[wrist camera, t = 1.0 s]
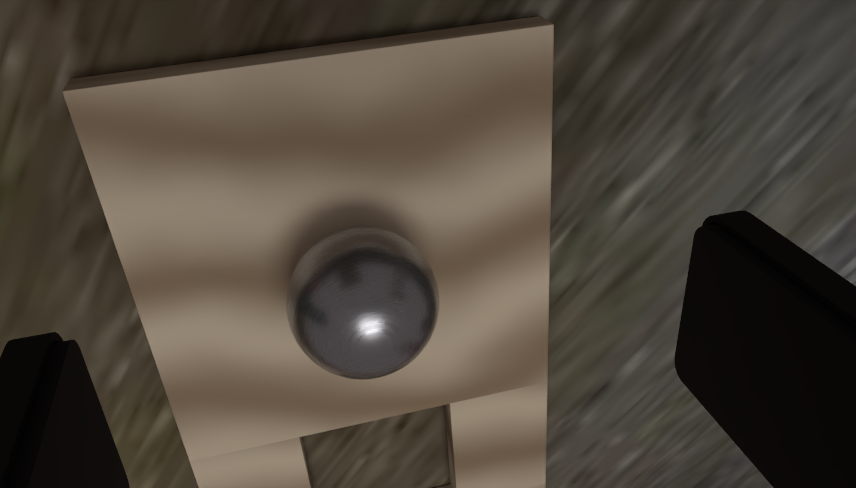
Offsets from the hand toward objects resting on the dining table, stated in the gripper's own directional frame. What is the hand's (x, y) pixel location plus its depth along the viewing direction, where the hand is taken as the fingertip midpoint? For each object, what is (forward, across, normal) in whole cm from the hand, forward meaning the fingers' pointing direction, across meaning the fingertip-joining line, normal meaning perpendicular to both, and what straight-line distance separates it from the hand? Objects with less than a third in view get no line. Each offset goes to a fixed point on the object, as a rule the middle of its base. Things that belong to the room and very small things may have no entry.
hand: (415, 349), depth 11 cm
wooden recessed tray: (+20, -1, +15) cm, 25 cm away
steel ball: (+15, -1, +9) cm, 18 cm away
